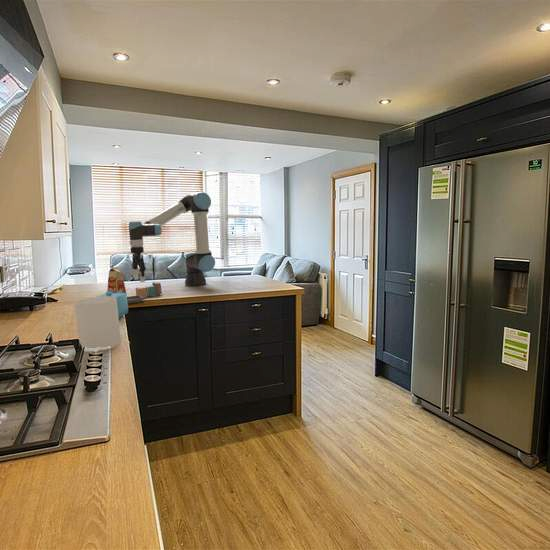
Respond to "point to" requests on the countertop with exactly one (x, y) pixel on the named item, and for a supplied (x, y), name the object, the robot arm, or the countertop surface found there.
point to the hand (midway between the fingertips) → (139, 280)
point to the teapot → (119, 302)
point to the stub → (141, 291)
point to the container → (98, 322)
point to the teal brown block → (154, 289)
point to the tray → (134, 299)
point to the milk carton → (115, 281)
